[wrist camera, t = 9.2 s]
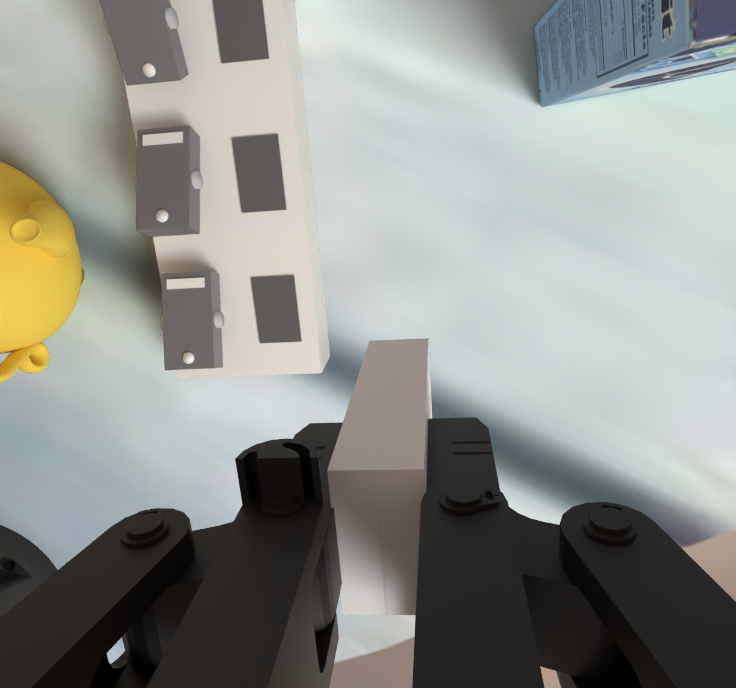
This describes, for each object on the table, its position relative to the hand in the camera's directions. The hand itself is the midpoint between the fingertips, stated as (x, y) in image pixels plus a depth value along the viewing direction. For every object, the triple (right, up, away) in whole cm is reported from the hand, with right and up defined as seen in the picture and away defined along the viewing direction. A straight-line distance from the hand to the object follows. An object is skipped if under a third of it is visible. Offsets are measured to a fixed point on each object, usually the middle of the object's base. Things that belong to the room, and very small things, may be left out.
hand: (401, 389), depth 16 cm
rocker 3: (-12, +3, +23) cm, 26 cm away
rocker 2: (-13, +11, +20) cm, 26 cm away
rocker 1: (-13, +19, +18) cm, 29 cm away
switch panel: (-10, +12, +25) cm, 29 cm away
